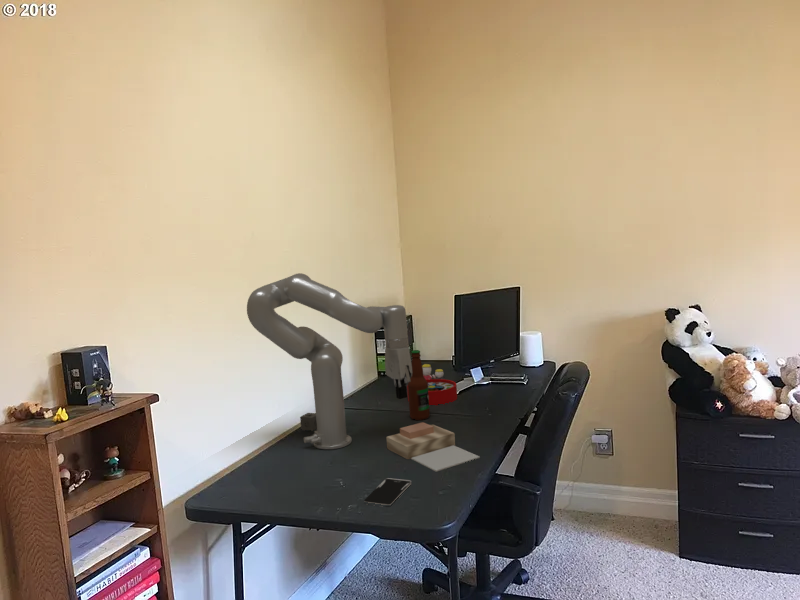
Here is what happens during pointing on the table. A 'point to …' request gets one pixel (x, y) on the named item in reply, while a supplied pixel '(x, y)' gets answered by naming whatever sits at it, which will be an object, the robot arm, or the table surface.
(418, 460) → the mat
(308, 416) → the dice cube
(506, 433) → the table surface
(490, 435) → the table surface
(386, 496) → the smartphone
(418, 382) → the bottle
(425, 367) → the toy figures
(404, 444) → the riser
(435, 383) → the toy clock
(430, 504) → the table surface
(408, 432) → the tile
